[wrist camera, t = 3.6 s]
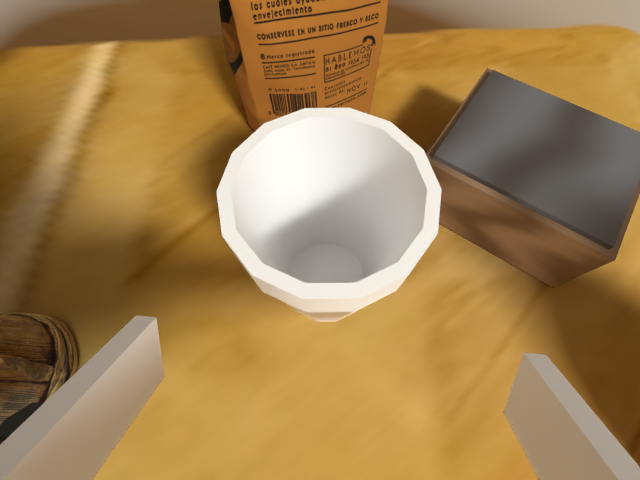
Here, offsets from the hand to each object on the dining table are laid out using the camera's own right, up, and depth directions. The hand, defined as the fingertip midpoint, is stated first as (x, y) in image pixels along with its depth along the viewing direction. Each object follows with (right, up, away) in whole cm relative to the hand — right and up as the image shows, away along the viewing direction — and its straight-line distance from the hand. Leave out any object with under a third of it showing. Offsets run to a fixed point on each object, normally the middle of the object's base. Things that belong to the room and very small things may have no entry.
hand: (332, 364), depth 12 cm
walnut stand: (+15, +8, +17) cm, 24 cm away
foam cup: (0, +1, +14) cm, 14 cm away
